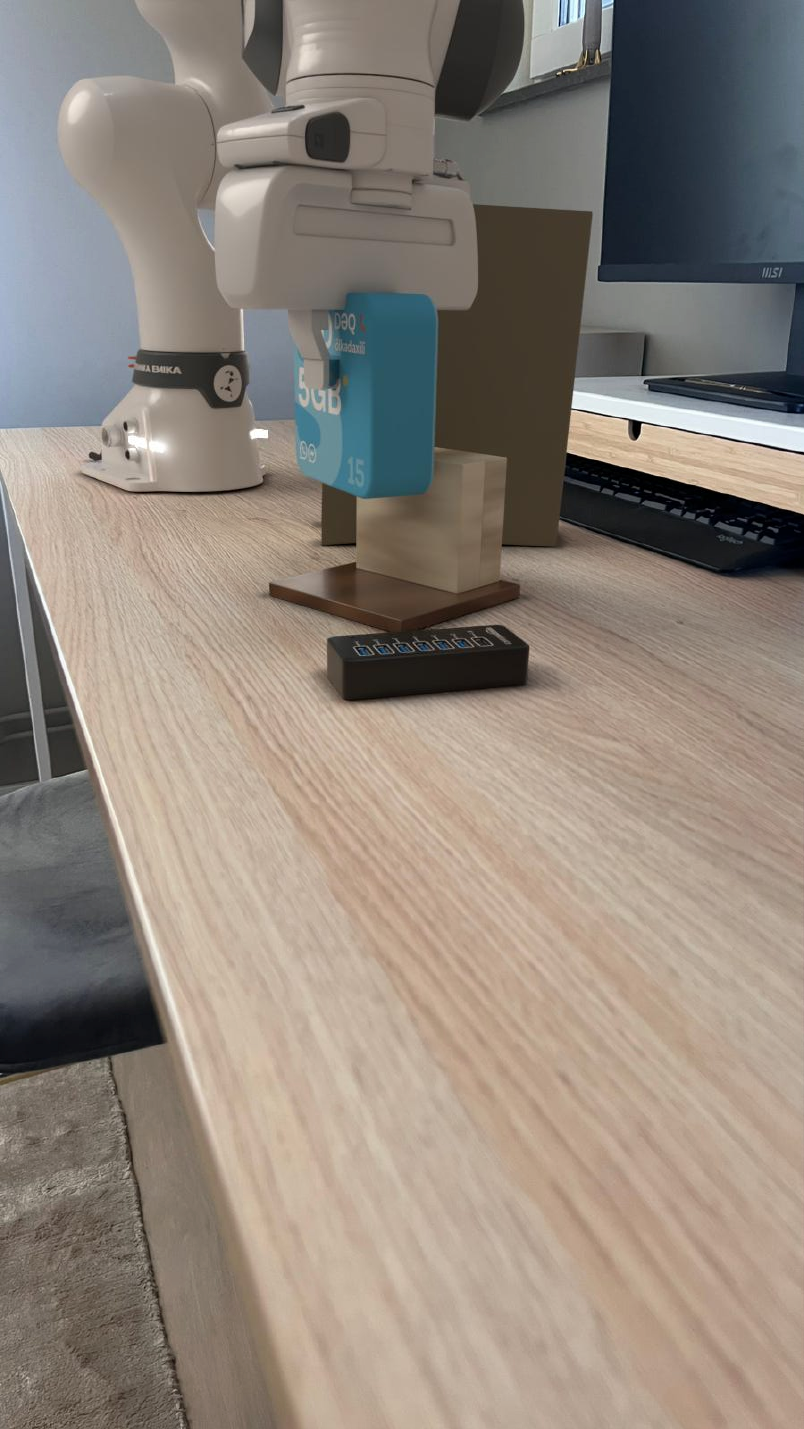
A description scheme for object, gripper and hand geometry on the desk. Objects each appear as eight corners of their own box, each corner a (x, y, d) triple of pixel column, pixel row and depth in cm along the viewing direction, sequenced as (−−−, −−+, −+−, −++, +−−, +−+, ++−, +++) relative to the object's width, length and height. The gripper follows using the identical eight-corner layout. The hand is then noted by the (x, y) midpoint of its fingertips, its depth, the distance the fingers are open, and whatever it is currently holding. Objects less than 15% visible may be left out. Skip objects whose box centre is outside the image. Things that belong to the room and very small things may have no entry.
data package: (294, 473, 73) (291, 290, 69) (352, 469, 75) (352, 291, 71) (371, 503, 64) (372, 293, 59) (434, 498, 66) (441, 294, 61)
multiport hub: (325, 673, 60) (325, 635, 59) (500, 659, 63) (502, 623, 62) (344, 700, 56) (344, 660, 55) (529, 684, 59) (532, 645, 58)
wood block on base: (268, 595, 75) (265, 455, 71) (389, 565, 84) (392, 439, 80) (401, 635, 67) (405, 479, 63) (519, 597, 76) (529, 459, 72)
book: (542, 530, 100) (576, 211, 90) (563, 553, 92) (603, 203, 81) (321, 522, 99) (328, 196, 88) (321, 545, 90) (329, 186, 79)
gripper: (432, 165, 71) (426, 376, 76) (192, 128, 57) (204, 390, 62) (506, 159, 67) (494, 382, 72) (268, 118, 53) (274, 399, 58)
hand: (359, 386), depth 67 cm, fingers closed on data package, 5 cm apart
